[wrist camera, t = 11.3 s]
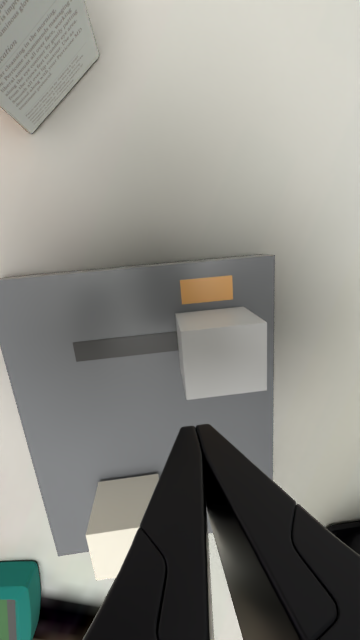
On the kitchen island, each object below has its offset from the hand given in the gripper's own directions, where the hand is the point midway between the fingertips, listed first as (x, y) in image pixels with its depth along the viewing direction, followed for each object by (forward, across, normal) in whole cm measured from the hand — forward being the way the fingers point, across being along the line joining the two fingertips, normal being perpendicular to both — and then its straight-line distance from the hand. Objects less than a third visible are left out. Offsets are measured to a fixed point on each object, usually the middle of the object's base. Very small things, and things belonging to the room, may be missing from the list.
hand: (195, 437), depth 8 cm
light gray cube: (+8, -2, 0) cm, 9 cm away
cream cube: (+8, +4, +11) cm, 15 cm away
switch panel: (+11, +2, +6) cm, 12 cm away
